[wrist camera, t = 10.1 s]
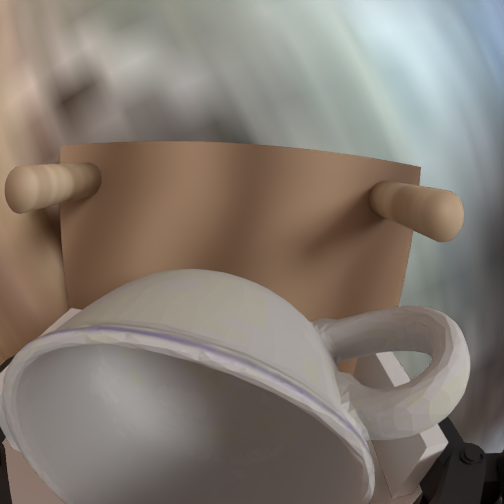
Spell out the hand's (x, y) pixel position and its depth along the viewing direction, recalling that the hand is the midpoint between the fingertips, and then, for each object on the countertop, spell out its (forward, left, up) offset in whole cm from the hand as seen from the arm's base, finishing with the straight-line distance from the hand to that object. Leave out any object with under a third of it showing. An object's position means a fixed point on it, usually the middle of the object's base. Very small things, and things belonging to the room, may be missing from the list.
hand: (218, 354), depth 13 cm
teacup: (-1, 0, -1) cm, 1 cm away
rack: (0, 0, -4) cm, 4 cm away
